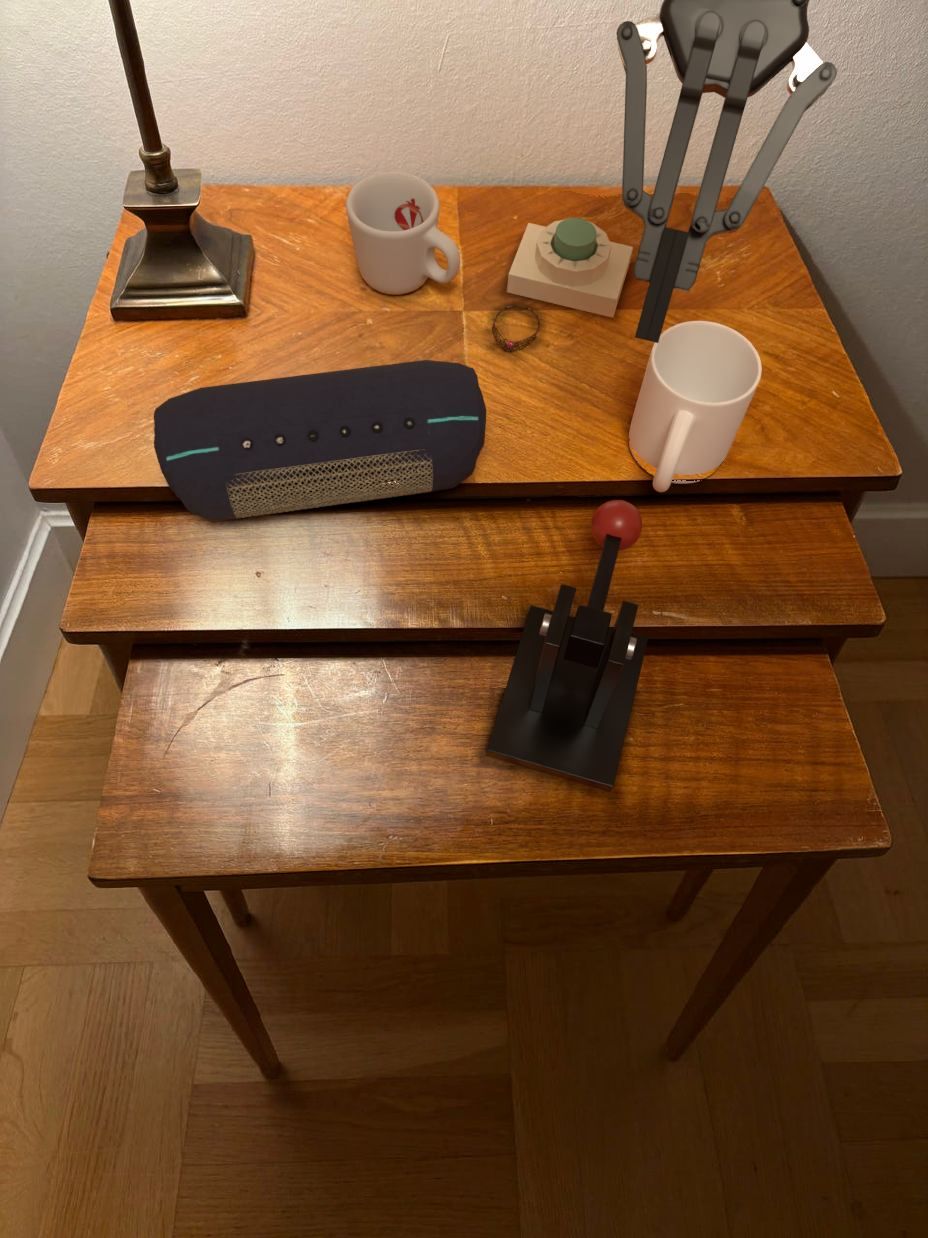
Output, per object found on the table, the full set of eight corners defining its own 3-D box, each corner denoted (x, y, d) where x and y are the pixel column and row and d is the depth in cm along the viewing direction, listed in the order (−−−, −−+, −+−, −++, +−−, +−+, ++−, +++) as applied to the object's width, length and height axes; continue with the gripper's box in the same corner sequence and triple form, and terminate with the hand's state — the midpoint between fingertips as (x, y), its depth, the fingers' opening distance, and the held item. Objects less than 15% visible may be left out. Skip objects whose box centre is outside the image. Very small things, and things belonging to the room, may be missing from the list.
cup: (480, 280, 90) (485, 208, 83) (431, 333, 87) (431, 262, 80) (386, 231, 93) (382, 157, 86) (334, 281, 89) (326, 208, 82)
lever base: (529, 612, 74) (545, 526, 64) (645, 644, 73) (681, 562, 63) (485, 756, 69) (495, 688, 58) (610, 792, 68) (643, 730, 57)
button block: (629, 265, 92) (637, 230, 88) (612, 318, 88) (620, 284, 85) (526, 241, 93) (530, 205, 89) (506, 292, 89) (509, 257, 86)
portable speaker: (177, 552, 76) (144, 476, 67) (170, 450, 80) (138, 365, 71) (495, 508, 78) (503, 428, 70) (471, 411, 83) (476, 325, 74)
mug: (696, 537, 78) (731, 457, 69) (598, 501, 79) (620, 419, 70) (736, 427, 83) (774, 340, 74) (644, 396, 84) (670, 306, 75)
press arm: (591, 521, 72) (601, 484, 69) (639, 534, 72) (651, 497, 69) (551, 662, 63) (560, 626, 60) (605, 678, 62) (618, 641, 60)
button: (597, 238, 88) (600, 222, 86) (588, 265, 86) (591, 250, 85) (559, 229, 88) (561, 213, 87) (549, 256, 87) (551, 240, 85)
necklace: (484, 351, 86) (484, 343, 85) (500, 301, 89) (500, 293, 88) (530, 361, 85) (531, 353, 85) (544, 311, 88) (546, 302, 87)
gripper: (867, -43, 57) (743, 363, 64) (649, -85, 58) (551, 317, 66) (899, -98, 50) (755, 366, 57) (650, -144, 51) (539, 314, 59)
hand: (646, 339), depth 61 cm, fingers closed
